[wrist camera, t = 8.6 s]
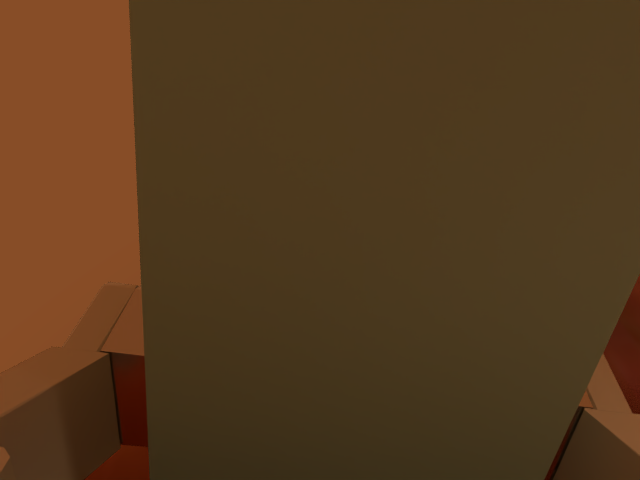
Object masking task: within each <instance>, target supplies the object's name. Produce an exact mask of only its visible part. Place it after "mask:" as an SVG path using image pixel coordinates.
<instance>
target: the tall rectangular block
mask: <svg viewBox="0 0 640 480" xmlns="http://www.w3.org/2000/svg"><path fill="white" fill-rule="evenodd" d="M129 12H130V36H131V59H132V81H133V105H134V126H135V149H136V172H137V196H138V219H139V242H140V263H141V264H140V265H141V288H142V311H143V334H144V357H145V380H146V403H147V426H148V449H149V472H150V480H544V479H545V477H546V475H547V473H548V470H549V468H550V466H551V464H552V462H553V460H554V457H555V455H556V453H557V451H558V449H559V447H560V445H561V442H562V440H563V438H564V436H565V434H566V432H567V429H568V427H569V425H570V423H571V421H572V419H573V416H574V414H575V412H576V410H577V408H578V406H579V404H580V401H581V399H582V397H583V395H584V393H585V391H586V388H587V386H588V384H589V382H590V380H591V378H592V375H593V373H594V371H595V369H596V367H597V365H598V362H599V360H600V358H601V356H602V354H603V352H604V350H605V347H606V345H607V343H608V341H609V339H610V337H611V334H612V332H613V330H614V328H615V326H616V324H617V321H618V319H619V317H620V315H621V313H622V311H623V309H624V306H625V304H626V302H627V300H628V298H629V296H630V293H631V291H632V289H633V287H634V285H635V283H636V280H637V278H638V276H639V274H640V0H129Z"/></svg>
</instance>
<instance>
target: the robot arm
mask: <svg viewBox="0 0 640 480" xmlns="http://www.w3.org/2000/svg"><path fill="white" fill-rule="evenodd" d="M120 445H131V446H142V447H148V426H147V403H146V380H145V357H144V334H143V311H142V288H141V286H137V285H129V284H122V283H113V282H108V283H107V284H104V285H103V286H102V287H101V289H100V290H99V292H98V293H97V295H96V296H95V298H94V299H93V301H92V302H91V304H90V305H89V307H88V308H87V310H86V311H85V313H84V314H83V316H82V317H81V319H80V321H79V322H78V324H77V325H76V327H75V328H74V330H73V331H72V333H71V334H70V336H69V337H68V339H67V340H66V342H65V343H64V345H63V346H62V348H60V347H51V348H49V349H47V350H45V351H43V352H41V353H39V354H37V355H35V356H33V357H31V358H30V359H27V360H26V361H23V362H21V363H20V364H18V365H16V366H14V367H12V368H10V369H8V370H6V371H4V372H2V373H1V374H0V480H84V479H85V478H86V477H87V476H89V475H90V474H91V473H92V472H93V471H94V470H95V469H97V468H98V467H99V466H100V465H101V464H102V463H104V462H105V461H106V460H107V459H108V458H109V457H111V456H112V455H113V454H114V453H115V452H116V451H117V450H119V449H120ZM544 480H640V414H633V413H632V411H631V409H630V407H629V405H628V403H627V401H626V399H625V397H624V395H623V393H622V391H621V389H620V387H619V385H618V383H617V381H616V379H615V377H614V375H613V373H612V371H611V368H610V366H609V364H608V362H607V360H606V358H605V356H604V354H602V356H601V358H600V360H599V362H598V365H597V367H596V369H595V371H594V373H593V375H592V378H591V380H590V382H589V384H588V386H587V388H586V391H585V393H584V395H583V397H582V399H581V401H580V404H579V406H578V408H577V410H576V412H575V414H574V416H573V419H572V421H571V423H570V425H569V427H568V429H567V432H566V434H565V436H564V438H563V440H562V442H561V445H560V447H559V449H558V451H557V453H556V455H555V457H554V460H553V462H552V464H551V466H550V468H549V470H548V473H547V475H546V477H545V479H544Z"/></svg>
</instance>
